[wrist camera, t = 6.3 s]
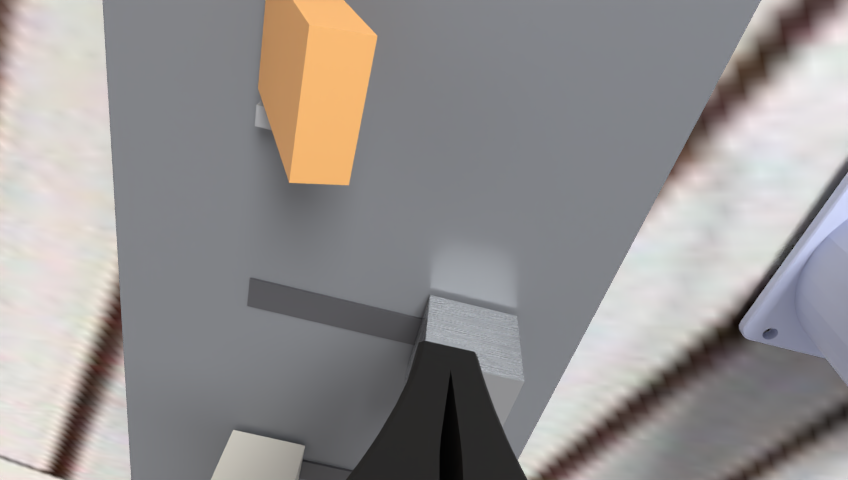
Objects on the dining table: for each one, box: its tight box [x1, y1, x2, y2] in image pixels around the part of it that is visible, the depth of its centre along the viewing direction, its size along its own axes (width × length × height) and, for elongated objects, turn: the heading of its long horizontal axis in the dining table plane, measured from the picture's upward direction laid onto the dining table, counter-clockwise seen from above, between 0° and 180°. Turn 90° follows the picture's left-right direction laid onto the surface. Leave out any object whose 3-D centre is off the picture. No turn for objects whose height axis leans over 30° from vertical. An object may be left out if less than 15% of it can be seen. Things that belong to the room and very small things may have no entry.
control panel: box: [103, 0, 761, 480], centre depth 20 cm, size 16×27×3 cm, turn 166°
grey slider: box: [404, 295, 524, 427], centre depth 18 cm, size 3×4×3 cm
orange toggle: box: [258, 0, 377, 185], centre depth 12 cm, size 1×3×5 cm, turn 166°
